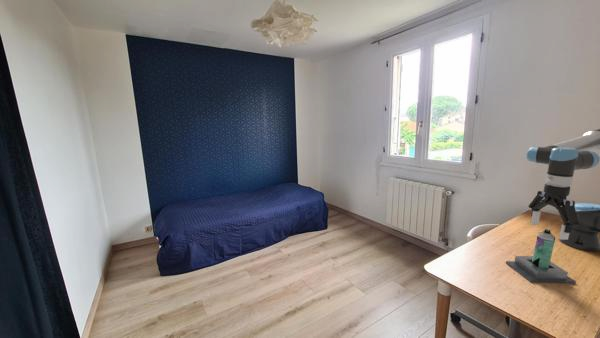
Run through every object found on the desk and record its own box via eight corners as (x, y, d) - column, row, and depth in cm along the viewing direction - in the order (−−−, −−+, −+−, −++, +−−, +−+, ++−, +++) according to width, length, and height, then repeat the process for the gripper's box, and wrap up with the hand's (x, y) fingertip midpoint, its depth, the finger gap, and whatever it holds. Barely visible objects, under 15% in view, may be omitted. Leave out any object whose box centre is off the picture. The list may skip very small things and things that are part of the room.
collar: (545, 263, 117) (547, 255, 116) (575, 283, 103) (578, 274, 102) (505, 262, 118) (507, 254, 117) (530, 282, 104) (532, 272, 103)
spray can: (544, 268, 112) (553, 228, 107) (549, 275, 107) (559, 233, 102) (528, 265, 114) (536, 226, 110) (533, 272, 109) (542, 231, 105)
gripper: (523, 177, 114) (516, 219, 119) (579, 194, 90) (567, 246, 94) (540, 177, 114) (532, 219, 118) (601, 194, 89) (588, 246, 94)
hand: (548, 231), depth 106 cm, fingers open, 13 cm apart
